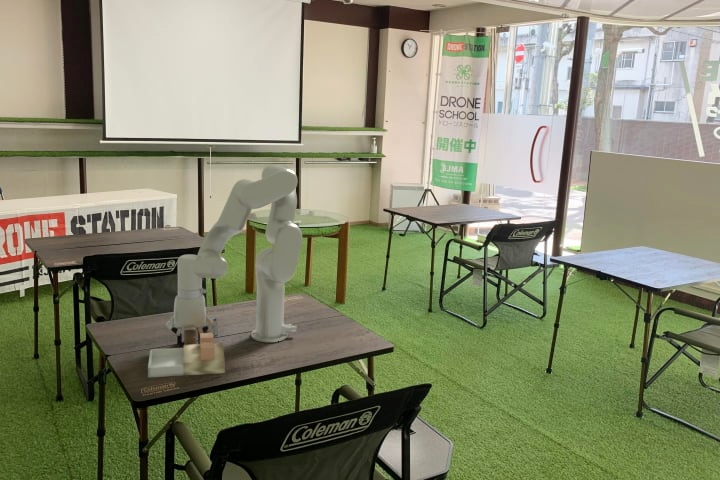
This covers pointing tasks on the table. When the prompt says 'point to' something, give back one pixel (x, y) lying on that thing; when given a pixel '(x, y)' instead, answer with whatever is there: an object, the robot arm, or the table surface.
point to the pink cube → (206, 338)
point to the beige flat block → (197, 366)
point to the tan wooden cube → (207, 351)
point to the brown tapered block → (189, 335)
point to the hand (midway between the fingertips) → (190, 344)
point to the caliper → (214, 326)
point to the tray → (166, 362)
